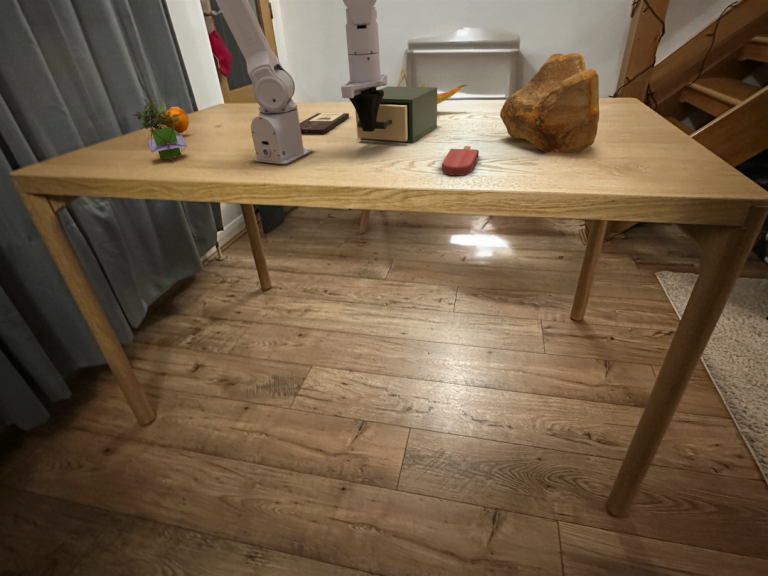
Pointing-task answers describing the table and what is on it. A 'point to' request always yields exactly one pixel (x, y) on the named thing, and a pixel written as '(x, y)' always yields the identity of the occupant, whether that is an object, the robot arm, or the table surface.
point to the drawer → (388, 123)
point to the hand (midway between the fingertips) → (368, 130)
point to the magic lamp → (440, 97)
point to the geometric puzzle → (166, 142)
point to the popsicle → (460, 161)
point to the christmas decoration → (164, 117)
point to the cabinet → (415, 108)
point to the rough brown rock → (556, 106)
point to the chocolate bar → (322, 122)
